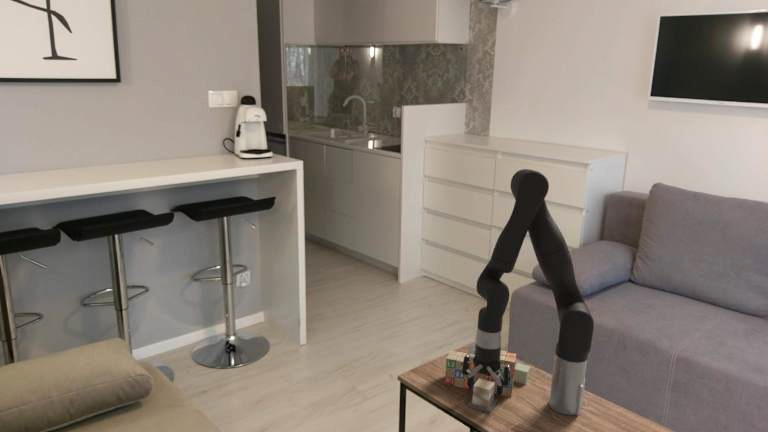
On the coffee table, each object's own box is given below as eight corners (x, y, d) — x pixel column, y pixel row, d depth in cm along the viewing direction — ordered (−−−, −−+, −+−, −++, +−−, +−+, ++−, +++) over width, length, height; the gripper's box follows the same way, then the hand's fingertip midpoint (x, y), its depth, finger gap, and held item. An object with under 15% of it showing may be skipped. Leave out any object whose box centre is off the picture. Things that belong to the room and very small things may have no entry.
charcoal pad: (497, 402, 180) (497, 399, 179) (489, 413, 174) (490, 410, 173) (475, 395, 183) (475, 393, 183) (467, 406, 177) (467, 403, 177)
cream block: (493, 400, 179) (495, 382, 178) (487, 408, 175) (489, 390, 173) (477, 395, 181) (479, 378, 180) (472, 403, 177) (473, 385, 176)
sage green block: (529, 378, 194) (530, 366, 193) (525, 384, 191) (527, 372, 189) (516, 375, 196) (517, 362, 195) (512, 381, 193) (513, 368, 191)
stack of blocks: (444, 384, 189) (446, 349, 186) (448, 375, 195) (450, 341, 192) (511, 397, 183) (515, 361, 180) (513, 387, 188) (517, 352, 186)
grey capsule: (480, 363, 203) (482, 348, 201) (476, 368, 199) (478, 352, 198) (469, 360, 205) (471, 345, 203) (465, 365, 201) (466, 349, 200)
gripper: (515, 343, 173) (511, 392, 177) (469, 332, 179) (466, 380, 183) (508, 353, 166) (504, 404, 170) (461, 341, 173) (458, 391, 177)
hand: (484, 391), depth 177 cm, fingers open, 8 cm apart
